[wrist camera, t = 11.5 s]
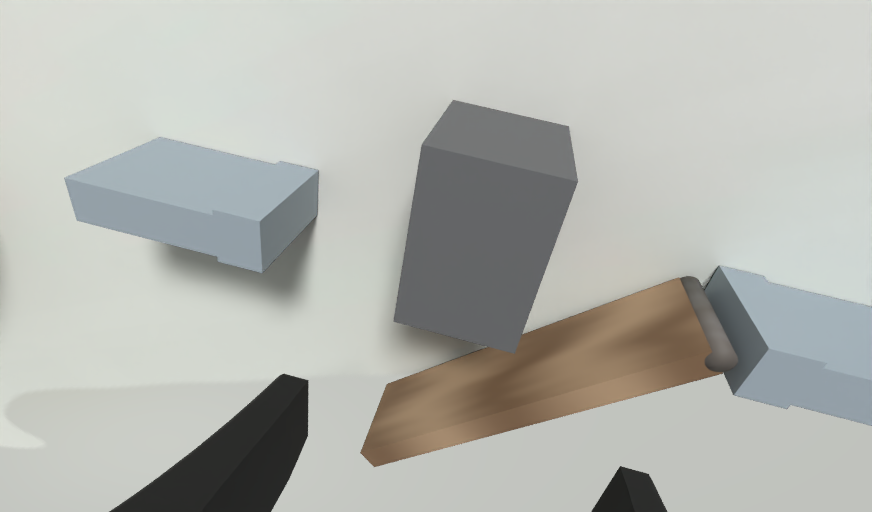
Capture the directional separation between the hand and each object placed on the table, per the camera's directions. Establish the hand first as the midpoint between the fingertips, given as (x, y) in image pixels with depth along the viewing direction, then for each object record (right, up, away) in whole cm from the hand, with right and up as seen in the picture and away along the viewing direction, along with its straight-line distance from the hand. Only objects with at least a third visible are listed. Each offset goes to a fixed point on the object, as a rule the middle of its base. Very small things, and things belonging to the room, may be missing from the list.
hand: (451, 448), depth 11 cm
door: (+3, +1, +10) cm, 10 cm away
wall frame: (+2, +5, +8) cm, 9 cm away
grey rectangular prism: (+2, +7, +7) cm, 10 cm away
